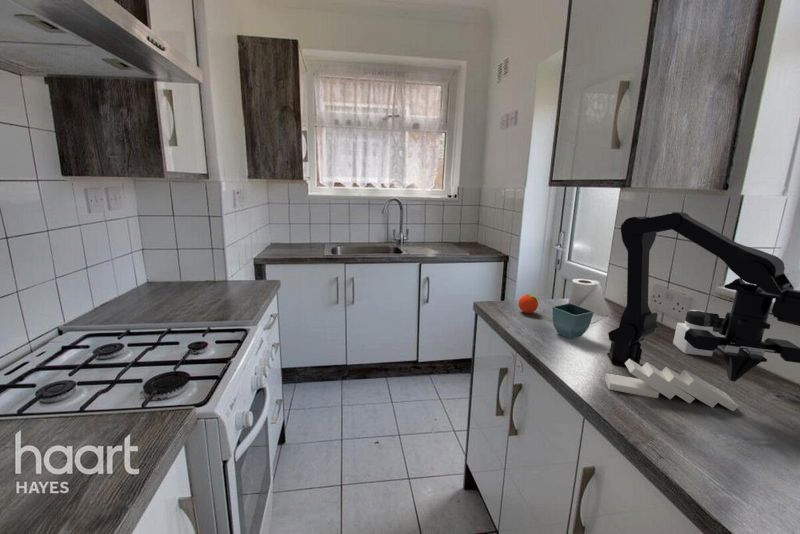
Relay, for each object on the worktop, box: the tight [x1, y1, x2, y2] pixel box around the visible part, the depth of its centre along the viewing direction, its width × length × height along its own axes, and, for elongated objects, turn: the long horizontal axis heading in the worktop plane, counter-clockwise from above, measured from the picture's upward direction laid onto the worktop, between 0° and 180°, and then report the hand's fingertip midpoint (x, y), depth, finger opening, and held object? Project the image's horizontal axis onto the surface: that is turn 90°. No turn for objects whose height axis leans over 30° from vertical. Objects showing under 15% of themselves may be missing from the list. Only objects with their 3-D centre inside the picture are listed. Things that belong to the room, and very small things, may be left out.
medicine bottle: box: [672, 309, 718, 357], centre depth 108 cm, size 7×7×12 cm
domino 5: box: [680, 369, 739, 412], centre depth 83 cm, size 2×5×10 cm
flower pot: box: [552, 302, 595, 340], centre depth 117 cm, size 9×9×9 cm
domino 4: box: [660, 366, 719, 409], centre depth 84 cm, size 2×5×10 cm
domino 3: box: [641, 361, 696, 404], centre depth 85 cm, size 2×5×10 cm
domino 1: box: [604, 372, 660, 399], centre depth 88 cm, size 2×5×10 cm
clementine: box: [517, 294, 541, 314], centre depth 136 cm, size 8×7×7 cm
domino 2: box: [625, 359, 676, 400], centre depth 86 cm, size 2×5×10 cm
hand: (731, 380), depth 81 cm, fingers closed
